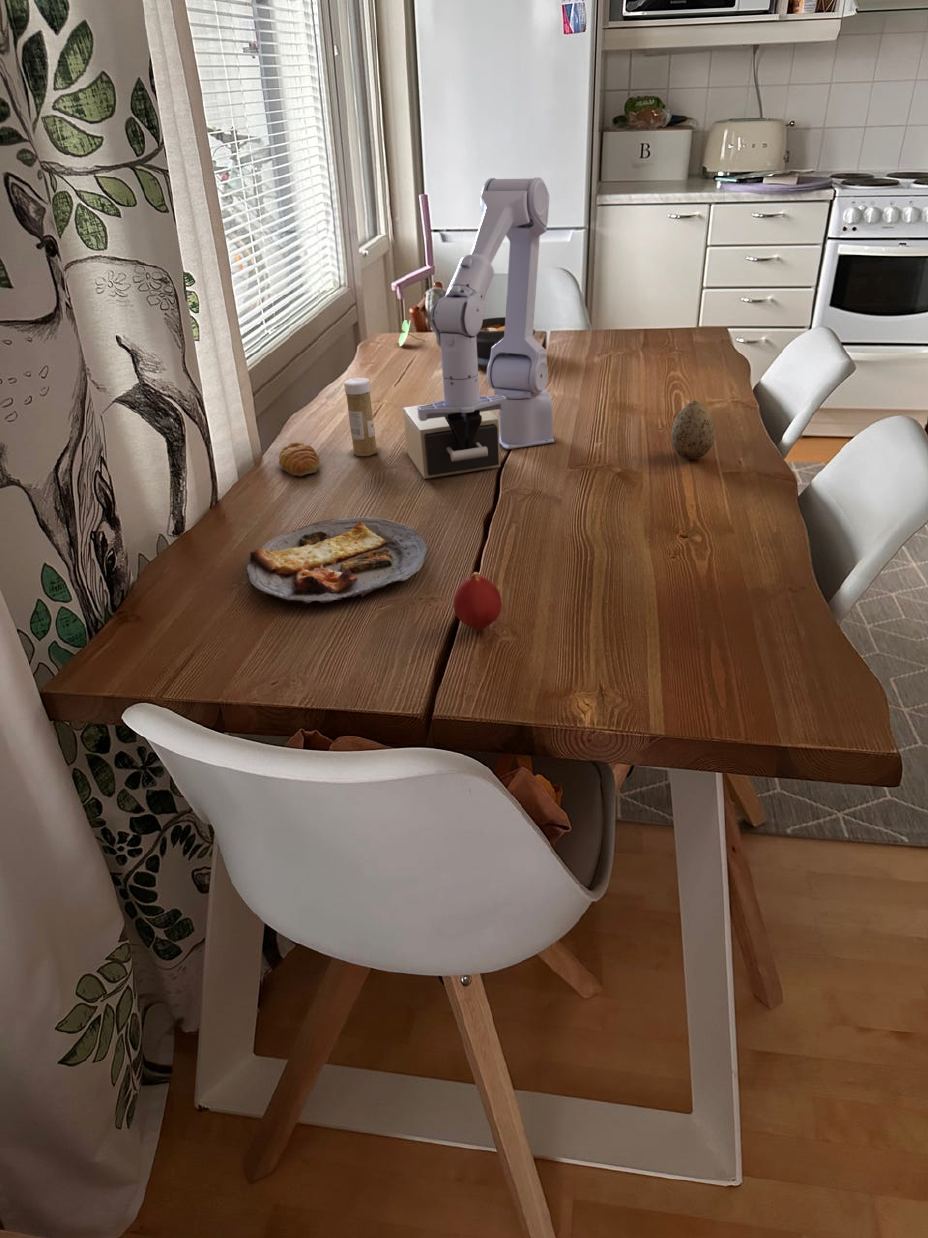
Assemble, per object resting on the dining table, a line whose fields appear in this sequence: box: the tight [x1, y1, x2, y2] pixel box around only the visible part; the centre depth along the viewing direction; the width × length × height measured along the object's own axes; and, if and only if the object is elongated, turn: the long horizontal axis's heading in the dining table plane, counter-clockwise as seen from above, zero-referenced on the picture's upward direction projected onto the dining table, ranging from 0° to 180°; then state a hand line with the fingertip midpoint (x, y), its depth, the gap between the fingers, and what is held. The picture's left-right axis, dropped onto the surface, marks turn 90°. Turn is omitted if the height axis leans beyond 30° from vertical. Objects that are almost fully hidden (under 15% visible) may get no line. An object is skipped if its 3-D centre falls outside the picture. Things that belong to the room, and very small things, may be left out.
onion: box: [452, 571, 503, 632], centre depth 111 cm, size 6×6×8 cm
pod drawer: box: [424, 425, 499, 476], centre depth 159 cm, size 17×12×7 cm
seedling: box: [398, 319, 426, 347], centre depth 241 cm, size 7×8×6 cm
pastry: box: [278, 442, 320, 477], centre depth 164 cm, size 9×7×4 cm
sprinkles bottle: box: [343, 377, 378, 457], centre depth 168 cm, size 5×5×14 cm
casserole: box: [476, 316, 536, 367], centre depth 220 cm, size 25×19×8 cm
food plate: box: [245, 516, 428, 606], centre depth 129 cm, size 25×23×4 cm
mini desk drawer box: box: [402, 403, 501, 479], centre depth 163 cm, size 14×14×9 cm
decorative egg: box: [670, 400, 716, 460], centre depth 156 cm, size 7×7×10 cm
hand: (465, 456), depth 154 cm, fingers closed, pressing on pod drawer
